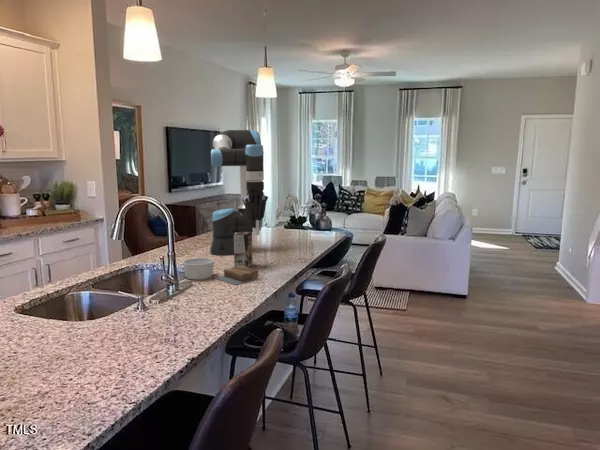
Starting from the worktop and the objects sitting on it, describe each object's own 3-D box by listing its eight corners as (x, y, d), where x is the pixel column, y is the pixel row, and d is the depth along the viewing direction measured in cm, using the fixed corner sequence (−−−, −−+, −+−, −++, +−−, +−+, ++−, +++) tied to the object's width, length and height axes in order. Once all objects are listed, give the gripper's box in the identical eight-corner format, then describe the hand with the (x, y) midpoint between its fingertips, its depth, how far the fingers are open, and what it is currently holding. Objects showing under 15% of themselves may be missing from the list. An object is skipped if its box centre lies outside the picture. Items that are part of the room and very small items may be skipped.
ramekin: (204, 270, 204) (203, 256, 203) (220, 276, 194) (220, 260, 193) (177, 276, 195) (177, 261, 193) (194, 282, 185) (193, 266, 184)
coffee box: (247, 269, 206) (246, 234, 203) (234, 268, 207) (233, 234, 205) (253, 264, 215) (252, 231, 212) (240, 263, 216) (239, 231, 213)
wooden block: (240, 265, 199) (223, 269, 193) (258, 270, 191) (241, 274, 184) (240, 272, 199) (224, 276, 193) (258, 277, 191) (241, 281, 185)
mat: (237, 273, 199) (237, 272, 199) (257, 279, 190) (257, 278, 190) (215, 278, 191) (214, 277, 191) (235, 285, 181) (235, 284, 181)
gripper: (249, 182, 185) (250, 238, 189) (272, 180, 194) (272, 233, 198) (237, 181, 190) (238, 235, 194) (260, 179, 199) (261, 231, 203)
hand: (256, 234), depth 196 cm, fingers closed
